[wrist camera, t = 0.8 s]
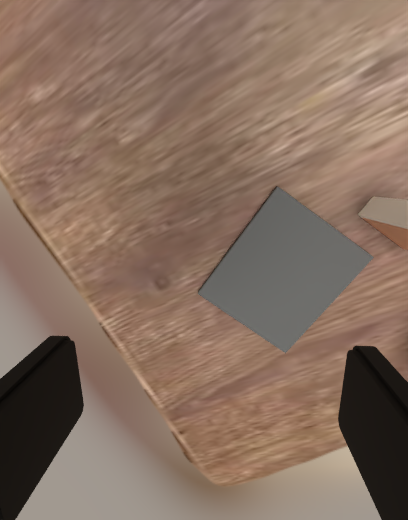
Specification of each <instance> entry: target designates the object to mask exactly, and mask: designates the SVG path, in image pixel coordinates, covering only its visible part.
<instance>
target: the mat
mask: <svg viewBox="0 0 408 520" xmlns="http://www.w3.org/2000/svg"><path fill="white" fill-rule="evenodd" d="M373 258H374V257H373V256H371V255H370V254H369V253H367V252H366V251H365V250H363V249H362V248H360V247H359V246H358V245H356V244H355V243H354V242H352V241H351V240H350V239H348V238H347V237H346V236H344V235H343V234H341V233H340V232H339V231H337V230H336V229H335V228H333V227H332V226H331V225H329V224H328V223H327V222H325V221H324V220H323V219H321V218H320V217H318V216H317V215H316V214H314V213H313V212H312V211H310V210H309V209H308V208H306V207H305V206H304V205H302V204H301V203H299V202H298V201H297V200H295V199H294V198H293V197H291V196H290V195H289V194H287V193H286V192H285V191H283V190H282V189H281V188H279V187H276V188H275V189H274V191H273V192H272V193H271V195H270V196H269V197H268V199H267V200H266V201H265V203H264V204H263V206H262V207H261V208H260V210H259V211H258V212H257V214H256V215H255V216H254V218H253V219H252V220H251V222H250V223H249V224H248V226H247V227H246V228H245V230H244V231H243V232H242V234H241V235H240V236H239V238H238V239H237V240H236V242H235V243H234V244H233V246H232V247H231V248H230V250H229V251H228V252H227V254H226V255H225V256H224V258H223V259H222V260H221V262H220V263H219V264H218V266H217V267H216V269H215V270H214V271H213V273H212V274H211V275H210V277H209V278H208V279H207V281H206V282H205V283H204V285H203V286H202V287H201V289H200V290H199V291H198V294H199V295H200V296H202V297H203V298H205V299H206V300H208V301H209V302H211V303H212V304H214V305H215V306H217V307H218V308H220V309H221V310H223V311H224V312H226V313H227V314H228V315H230V316H231V317H233V318H234V319H236V320H237V321H239V322H240V323H242V324H243V325H245V326H246V327H248V328H249V329H251V330H252V331H254V332H255V333H257V334H258V335H260V336H261V337H263V338H264V339H265V340H267V341H268V342H270V343H271V344H273V345H274V346H276V347H277V348H279V349H280V350H282V351H283V352H285V353H286V352H287V351H288V350H289V349H290V348H291V347H292V346H293V344H294V343H295V342H296V341H297V340H298V339H299V338H300V337H301V336H302V335H303V334H304V333H305V331H306V330H307V329H308V328H309V327H310V326H311V325H312V324H313V323H314V322H315V321H316V319H317V318H318V317H319V316H320V315H321V314H322V313H323V312H324V311H325V310H326V309H327V308H328V306H329V305H330V304H331V303H332V302H333V301H334V300H335V299H336V298H337V297H338V296H339V295H340V293H341V292H342V291H343V290H344V289H345V288H346V287H347V286H348V285H349V284H350V283H351V282H352V280H353V279H354V278H355V277H356V276H357V275H358V274H359V273H360V272H361V271H362V270H363V269H364V267H365V266H366V265H367V264H368V263H369V262H370V261H371V260H372V259H373Z"/></svg>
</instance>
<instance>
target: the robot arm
mask: <svg viewBox="0 0 408 520" xmlns="http://www.w3.org/2000/svg"><path fill="white" fill-rule="evenodd" d="M83 406H84V404H83V397H82V389H81V382H80V376H79V369H78V362H77V355H76V348H75V343H74V341H71V340H70V338H69V337H68V336H50V337H48V338H47V339H46V340H45V341H44V342H43V343H41V344H40V345H39V346H38V347H37V348H36V349H34V350H33V351H32V352H31V353H30V354H29V355H28V356H26V357H25V358H24V359H23V360H22V361H21V362H19V363H18V364H17V365H16V366H15V367H14V368H12V369H11V370H10V371H9V372H8V373H7V374H6V375H4V376H3V377H2V378H1V379H0V520H15V519H16V518H17V516H18V514H19V513H20V511H21V510H22V508H23V507H24V505H25V503H26V502H27V500H28V499H29V497H30V495H31V494H32V492H33V491H34V489H35V487H36V486H37V484H38V483H39V481H40V480H41V478H42V476H43V475H44V473H45V472H46V470H47V468H48V467H49V465H50V464H51V462H52V460H53V459H54V457H55V456H56V454H57V452H58V451H59V449H60V447H61V446H62V445H63V443H64V441H65V440H66V438H67V437H68V435H69V433H70V432H71V430H72V429H73V427H74V426H75V424H76V422H77V421H78V419H79V418H80V416H81V414H82V411H83ZM338 421H339V426H340V430H341V432H342V434H343V436H344V439H345V441H346V443H347V445H348V447H349V449H350V452H351V454H352V456H353V457H354V460H355V462H356V465H357V467H358V469H359V471H360V473H361V476H362V478H363V480H364V482H365V484H366V486H367V489H368V491H369V493H370V495H371V497H372V499H373V502H374V503H375V506H376V508H377V510H378V512H379V514H380V517H381V519H382V520H408V382H407V381H406V380H405V379H404V378H403V377H402V376H401V375H400V373H399V372H398V371H397V370H396V369H395V368H394V367H393V366H392V365H391V364H390V362H389V361H388V360H387V359H386V358H385V357H384V356H383V355H382V354H381V352H380V351H379V350H378V349H377V348H376V347H373V346H355V347H354V348H353V350H349V351H348V353H347V359H346V366H345V373H344V381H343V388H342V395H341V402H340V409H339V417H338Z"/></svg>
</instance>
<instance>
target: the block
mask: <svg viewBox="0 0 408 520" xmlns="http://www.w3.org/2000/svg"><path fill="white" fill-rule="evenodd" d="M358 215H359V216H360V217H361V218H363V219H364V220H365V221H367V222H368V223H369V224H371V225H372V226H373V227H375V228H376V229H377V230H379V231H380V232H381V233H383V234H384V235H385V236H387V237H388V238H389V239H391V240H392V241H393V242H395V243H396V244H397V245H399V246H400V247H401V248H403V249H404V250H407V251H408V200H405V199H395V198H384V197H372V198H371V199H370V201H369V202H368V203H367V204H366V205H365V206H364V208H363V209H362V210H361V211H360V212H359V213H358Z"/></svg>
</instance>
